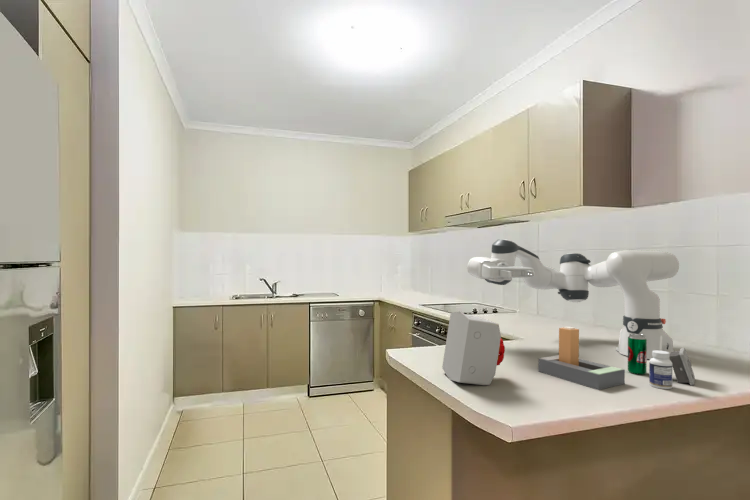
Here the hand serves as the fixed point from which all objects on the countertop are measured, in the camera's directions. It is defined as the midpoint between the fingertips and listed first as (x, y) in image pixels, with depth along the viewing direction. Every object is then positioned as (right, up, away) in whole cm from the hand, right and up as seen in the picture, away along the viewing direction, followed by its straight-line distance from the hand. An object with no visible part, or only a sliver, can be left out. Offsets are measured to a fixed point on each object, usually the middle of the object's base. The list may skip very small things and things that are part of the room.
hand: (522, 274), depth 148 cm
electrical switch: (+39, -30, -25) cm, 55 cm away
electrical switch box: (-23, -29, -25) cm, 45 cm away
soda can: (+30, -30, -17) cm, 46 cm away
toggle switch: (+9, -30, -22) cm, 38 cm away
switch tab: (+7, -28, -19) cm, 35 cm away
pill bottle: (+28, -30, -30) cm, 51 cm away
